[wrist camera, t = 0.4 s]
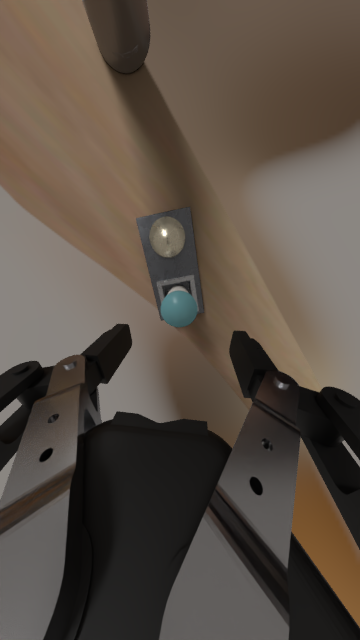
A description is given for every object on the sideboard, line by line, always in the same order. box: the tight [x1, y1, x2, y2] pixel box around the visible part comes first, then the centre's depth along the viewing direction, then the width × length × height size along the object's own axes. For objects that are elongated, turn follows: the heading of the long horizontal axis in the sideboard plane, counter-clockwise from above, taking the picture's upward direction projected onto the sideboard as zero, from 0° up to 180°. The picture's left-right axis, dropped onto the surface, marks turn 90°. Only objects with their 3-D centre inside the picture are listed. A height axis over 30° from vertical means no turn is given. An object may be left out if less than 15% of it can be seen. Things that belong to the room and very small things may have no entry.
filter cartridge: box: [161, 285, 198, 327], centre depth 27 cm, size 5×5×16 cm
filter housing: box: [136, 207, 204, 320], centre depth 32 cm, size 24×12×6 cm, turn 11°
